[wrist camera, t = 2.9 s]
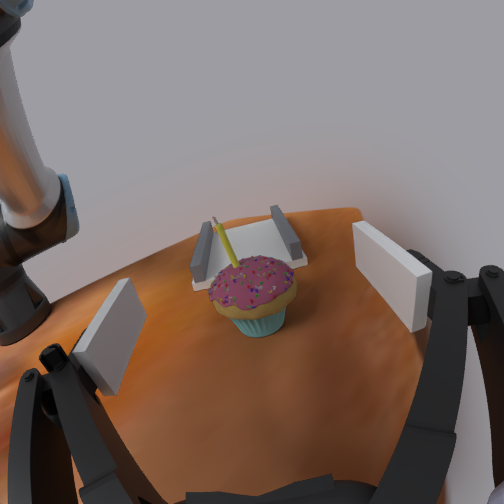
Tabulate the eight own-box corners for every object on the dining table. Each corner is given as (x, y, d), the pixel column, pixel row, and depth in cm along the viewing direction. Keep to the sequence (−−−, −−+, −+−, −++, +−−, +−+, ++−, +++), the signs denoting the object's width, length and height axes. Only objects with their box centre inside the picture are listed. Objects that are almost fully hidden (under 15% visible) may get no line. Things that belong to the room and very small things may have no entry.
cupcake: (211, 348, 27) (169, 238, 23) (237, 300, 35) (209, 206, 30) (297, 350, 24) (272, 225, 20) (307, 297, 32) (289, 193, 27)
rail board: (308, 265, 38) (304, 240, 37) (194, 291, 39) (185, 268, 37) (283, 221, 57) (279, 204, 55) (205, 240, 57) (200, 223, 56)
